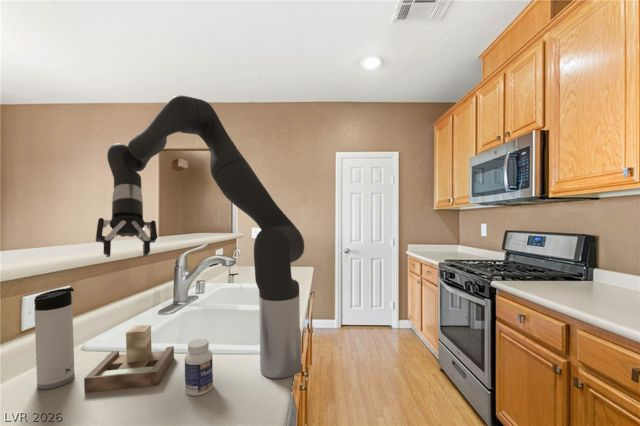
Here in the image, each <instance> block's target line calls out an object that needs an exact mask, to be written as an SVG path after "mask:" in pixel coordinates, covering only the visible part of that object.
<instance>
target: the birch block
mask: <svg viewBox="0 0 640 426" xmlns="http://www.w3.org/2000/svg"><path fill="white" fill-rule="evenodd" d="M125 344H126V345H125V346H126V350H125V351H126V353H125V354H127V363H128V362H139V361H146V360H147V358H148V357H149V356H150V354H151V353H152V352H153V351H152V325H151V324H145V325H143V324H142V325H133V326H131V327H130V328H129V329H128V330H127V331H126V332H125Z"/></svg>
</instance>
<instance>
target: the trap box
mask: <svg viewBox="0 0 640 426" xmlns="http://www.w3.org/2000/svg"><path fill="white" fill-rule="evenodd" d="M174 347H175V346H173V345H172V346H167V347H166V348H165V349H164V350H161V351H160V350H159V351H152V353H151V354H150V356H149V357H148V358H147V360H146V361H139V362H128V363H127V353H125V354H120V350H114V351H113V350H112V351H110V353H109V354H108V355H107V356H106V357H104V359H103V360H101V361H100V362H99V363H98V364H97V365H96V366H95V367H94V368H93V369H92V370H91V371H90V372H88V374H87V375H86V376H85V377H84V378H83V383H84V384H83V388H84V393H85V394H86V393H97V392H105V391H116V390H124V389H125V390H126V389H134V388H145V387H154V386H155V387H157V386H159V384H160V383H161V381H162V379H163V377H164V375H165V374H166V372H167V370H168V369H169V367H170V366H171V364H172V362H173V361H174V359H175V349H174Z"/></svg>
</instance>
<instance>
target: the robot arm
mask: <svg viewBox="0 0 640 426" xmlns="http://www.w3.org/2000/svg"><path fill="white" fill-rule="evenodd" d="M223 125H224V124H223V123H222V122H221V120H220V117H219V116H218V114H217V112H216V111H215V110H214V108H213V107H212V105H211V104H210V103H209V102H207V101H205V100H203V99H200V98H196V97H191V96H187V95H182V94H181V95H179V94H178V95H175V96H173V97H172V98H170V99H169V100H168V101H167V102H166V103H165V105H163V107H162V108H161V109H160V110H159V112H158V113H157V114H156V116H155V117H154V118H153V120H152V121H151V122H150V124H149V125H148V126H146V128H145V129H143V130H142V131H141V132H140V133H138V134H137V135H136V136H134V137H133V138H131V139H130V140H129V142H128V143H127V145H126V144H124V143H121V142H120V143H113V144H112V145H111V146H110V147H109V148H108V149H107V150H108V151H107V155H106V156H107V162H108V166H109V168H110V171H111V175H112V177H113V192H112V197H111V198H112V199H111V204H112V205H111V219H110V220H107V219H106V220H105V219H104V218H102V217H99V218H98V221H97V226H96V233H95V234H96V235H95V242H96V243H102V244H103V251H102V252H103V253H102V254H103V255H105V257H106V258H110V257H111V252H112V251H111V249H112V248H111V246H112V241H113V240H115V239H116V238H117V237H118V236H119V237H130V238H131V237H132V238H133V237H136V238H137V239H138V240H140V241H141V242H142V243H143V245H142V251H143V253H142V254H143V255H142V256H143V257H147V255H149V254H150V252H151V244H152V243H156V241H157V239H158V231H157V223H156V222H157V221H155V220H151V221H145V220H144V211H143V209H144V208H143V207H144V204H143V199H144V198H143V191H142V177H141V174H140V172H142V171H144V169H145V168H146V167H147V165H148V163H149V161H150V160H151V159H152V158H153V157H154V156H156V155H158V154H159V153H161V151H163V150H164V148H165V147H166V145H167V143H168V142H167V140H168V139H167V138H168V137H169V136H170V135H173V134H177V133H181V134H190V135H197V136H199V137H200V139H202V140H203V142H204V143H205V145H206V147H207V148H208V149H209V153H210V160H209V162H210V163H209V167H210V169H209V170H210V175H211V177H212V178H213V180H214V182H215V183H216V185H217V186H218V188H219V189H220V191H221V192H222V194H223V195H224V197H225V198H227V199H228V201H230V202H231V203H232V204H233V205H234V206H235V207H236V208H238V209H239V210H241V211H242V212H244V213H245V215H247V216H248V217H250V218H251V219H252V220H253V221H254V222H255V223H256V225H257V226H258V228H259V229H260V231H259V232H258V233H257V235H256V237H255V239H254V244H253V262H254V263H253V264H254V279H255V284H256V286H257V289H258V297H259V299H258V300H259V301H258V302H259V303H258V304H259V365H260V367H259V368H260V369H259V370H260V373H261V374H262V375H263V376H265V377H267V378H270V379H285V378H289V377H292V376H294V375H297V374H300V373H301V374H302V331H301V326H300V324H301V323H300V321H301V320H300V319H301V318H300V314H301V312H300V283H299V282H298V281H297V280H296V279H294V278H293V277H292V266H291V263H294V262H297V260H299V259H300V258H301V257H302V256H303V254H304V251H305V241H304V238H303V235H302V233H301V232H300V230H299V229H298V228H297V226H296V225H295V224H294V223H293V222H292V221H291V219H290V218H288V216H287V215H286V214H285V213H284V212H283V210H281V208H280V207H279V206H278V204H277V203H276V202H275V200H274V199H273V197H272V196H271V195H270V193H269V191H268V190H267V188H266V187H265V186H264V184H263V183H262V182H261V180H260V179H259V178H258V176H257V174H256V173H255V171H254V170H253V169H252V167H251V166H250V164H249V163H248V161H247V160H246V158H244V156H243V155H242V153H241V151H240V150H239V149H238V147H237V146H236V145H235V142H234V141H233V140H232V138H231V137H230V135H229V134H228V132H227V131H226V128H225V127H224V126H223ZM107 226H109V227H110V228H112V230H111V231H110V232H109V233H108V234H107V235H106V236H105V235H103V232H104V231H103V230H104V229H106V228H107ZM144 228H146V229H147V230H148V231H149V235H148V234H146V231H145V229H144Z"/></svg>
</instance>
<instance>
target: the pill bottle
mask: <svg viewBox="0 0 640 426" xmlns="http://www.w3.org/2000/svg"><path fill="white" fill-rule="evenodd" d="M209 343H210V342H209V340H208V339H206V338H198V339H193V340H191V341H190V342H188V344H187V351H188V352H187V354H186V355H185V357H184V387H185V388H184V389H185V393H186V394H187V395H189V396H192V397H193V396H195V397H196V396H202V395H204V394H207V393H208V392H210V391H211V390H212V388H213V386H214V385H213V383H214V378H213V377H214V375H213V373H214V372H213V369H214V367H213V351H211V349H209V347H210V346H209Z"/></svg>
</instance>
